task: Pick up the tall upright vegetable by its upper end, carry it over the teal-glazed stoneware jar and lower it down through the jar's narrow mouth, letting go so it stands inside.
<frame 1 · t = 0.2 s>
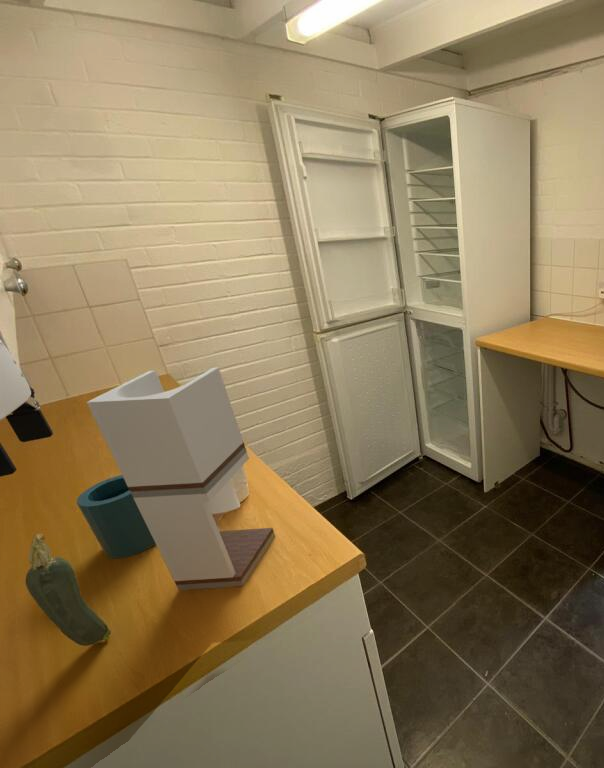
hand: (19, 456, 53), 30 cm above the kitchen counter, tool pointing down, fingers open, 9 cm apart
jar: (138, 539, 81), on the kitchen counter
white coffee maker: (230, 561, 75), on the kitchen counter
vegetable: (95, 645, 61), on the kitchen counter
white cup: (232, 498, 92), on the kitchen counter
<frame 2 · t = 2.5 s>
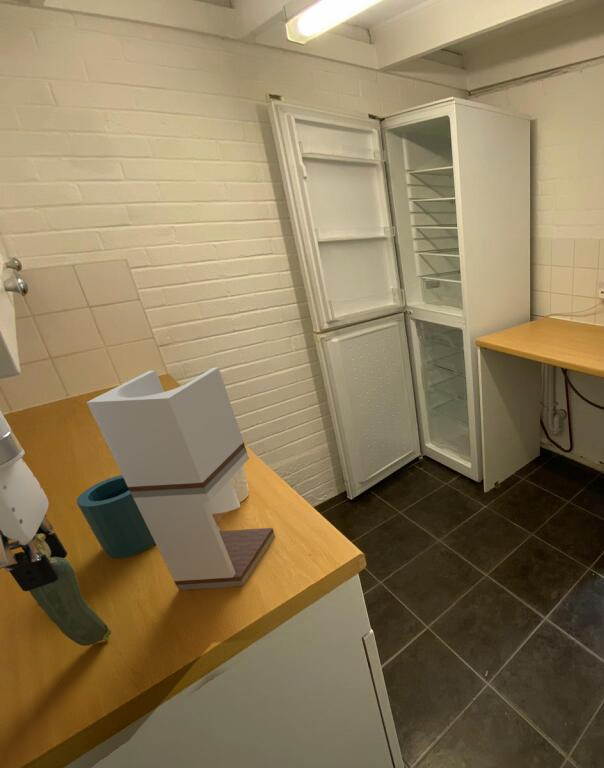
hand: (46, 571, 55), 15 cm above the kitchen counter, tool pointing down, fingers closed on vegetable, 4 cm apart
vegetable: (95, 645, 61), on the kitchen counter, touching gripper
everything else where it was.
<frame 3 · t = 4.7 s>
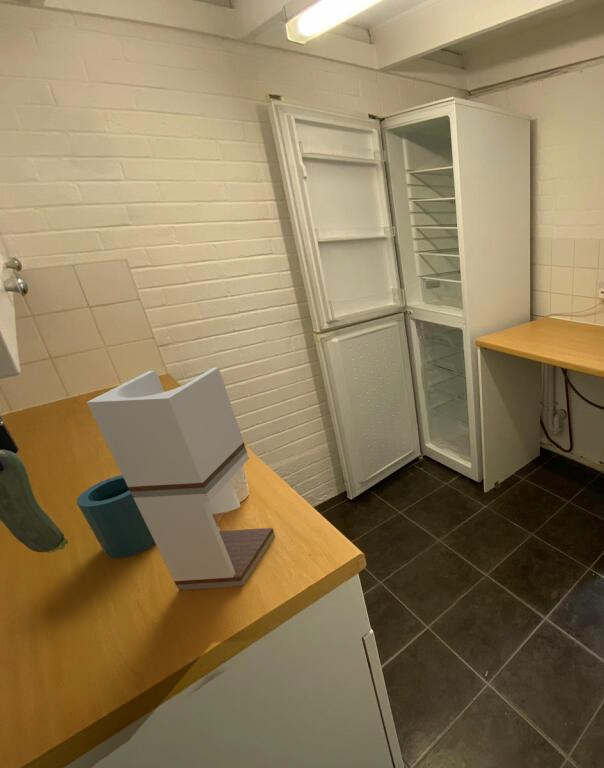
vegetable: (50, 554, 57), point 15 cm above the kitchen counter, touching gripper
everything else where it was.
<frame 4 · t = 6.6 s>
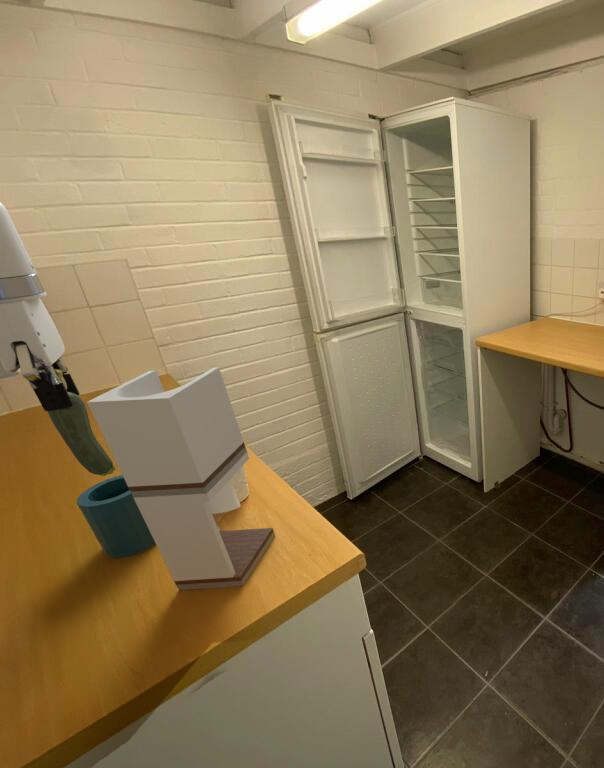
hand: (63, 402, 67), 30 cm above the kitchen counter, tool pointing down, fingers closed on vegetable, 4 cm apart
vegetable: (102, 478, 73), point 15 cm above the kitchen counter, touching gripper
everything else where it was.
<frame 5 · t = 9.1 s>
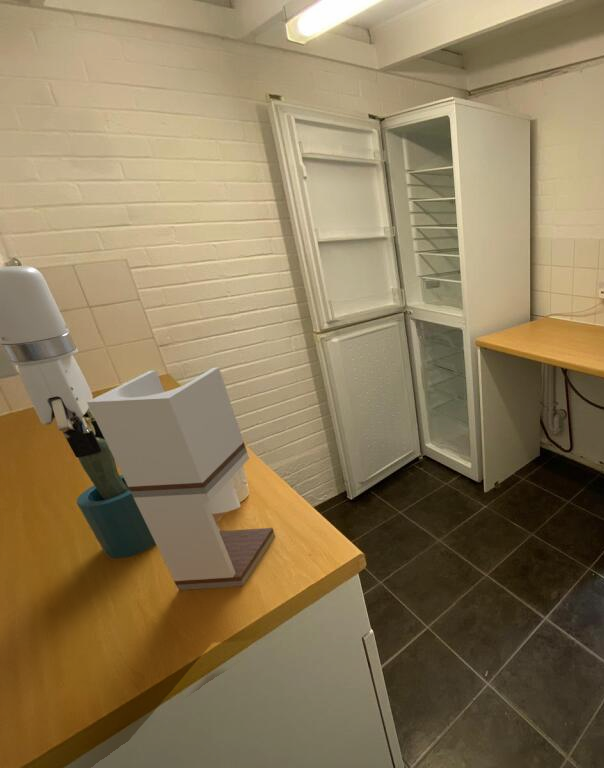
hand: (91, 447, 72), 21 cm above the kitchen counter, tool pointing down, fingers closed on vegetable, 4 cm apart
vegetable: (126, 514, 78), point 6 cm above the kitchen counter, touching gripper
everything else where it was.
when the fingers open (16 cm above the kitchen counter, at t = 11.0 s): vegetable stays where it is, resting on jar.
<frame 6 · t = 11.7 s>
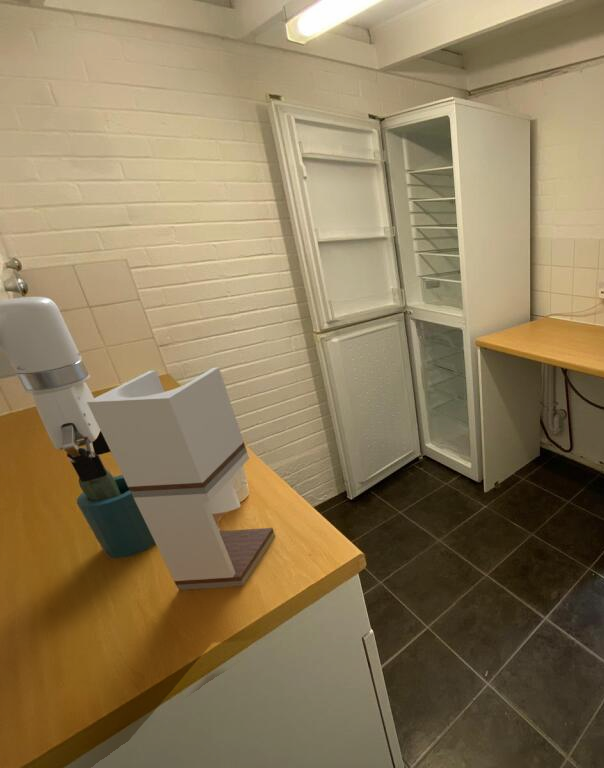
hand: (100, 464, 74), 17 cm above the kitchen counter, tool pointing down, fingers open, 9 cm apart
vegetable: (137, 536, 81), point 1 cm above the kitchen counter, touching jar
everything else where it was.
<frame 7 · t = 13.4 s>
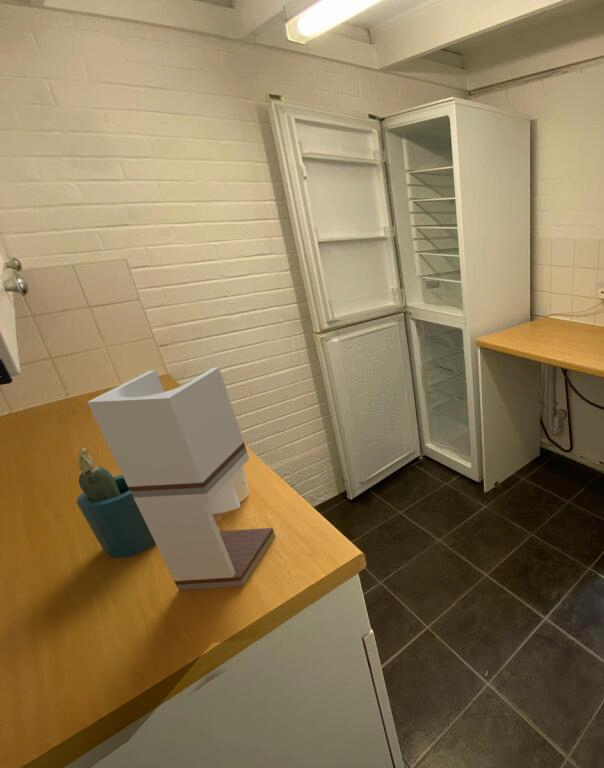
nothing on the kitchen counter moved.
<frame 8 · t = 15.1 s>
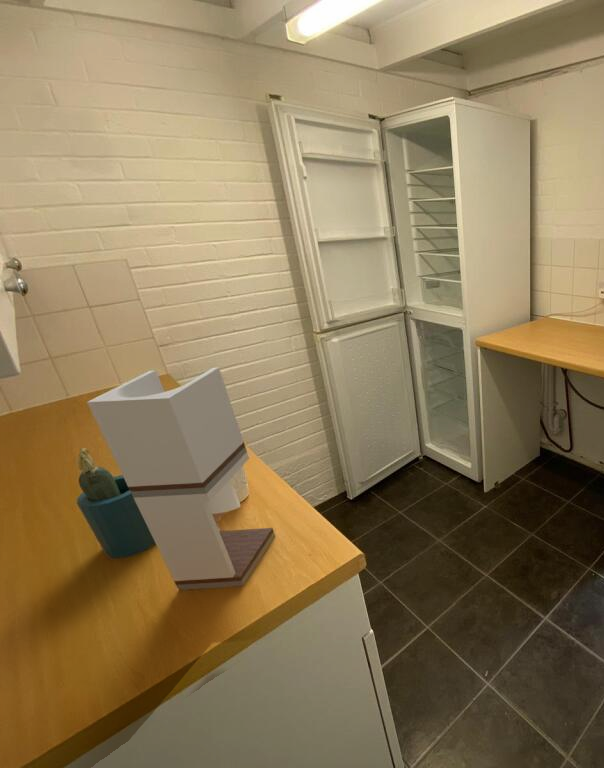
nothing on the kitchen counter moved.
at the end: vegetable 0.0 cm off-centre in the jar, point 0.6 cm above the jar's base; the gripper is holding nothing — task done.
